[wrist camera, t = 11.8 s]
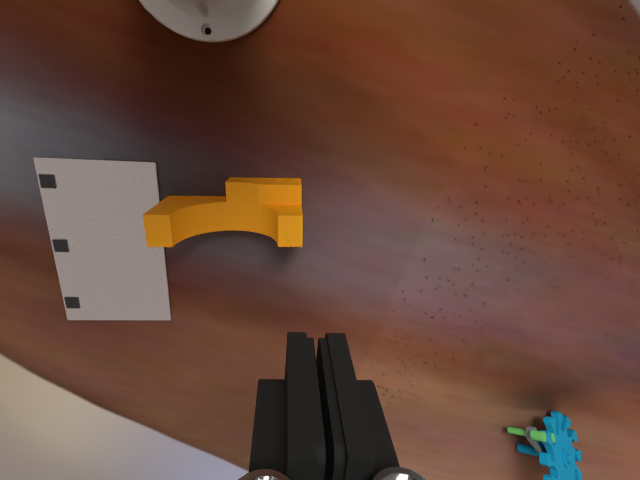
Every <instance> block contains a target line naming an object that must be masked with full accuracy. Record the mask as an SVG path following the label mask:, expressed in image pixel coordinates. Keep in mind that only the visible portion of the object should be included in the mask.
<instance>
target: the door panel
mask: <svg viewBox="0 0 640 480" xmlns="http://www.w3.org/2000/svg"><path fill="white" fill-rule="evenodd" d="M33 159H34V164H35V169H36V174H37V178H38V183H39V188H40V193H41V197H42V202H43V207H44V211H45V216H46V221H47V226H48V230H49V235H50V240H51V244H52V249H53V254H54V259H55V263H56V268H57V273H58V277H59V282H60V287H61V292H62V296H63V301H64V306H65V310H66V315H67V320H172V318H171V308H170V298H169V288H168V278H167V268H166V258H165V247H147V243H146V236H145V229H144V222H143V214H144V213H146V212H147V211H148V210H150V209H151V208H152V207H154V206H155V205H157V204H158V203H159V202H160V197H159V187H158V176H157V166H156V162H139V161H115V160H91V159H67V158H43V157H33Z"/></svg>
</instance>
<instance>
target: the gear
mask: <svg viewBox="0 0 640 480" xmlns="http://www.w3.org/2000/svg"><path fill="white" fill-rule="evenodd" d="M544 424H545V427H546V430H547V431H544V430H541V431H537V429H536V428H535V427H530V426H527V428H526V430H525V429H519V428H514V427H508V433H511V434H516V435H521V436H526V438H527V440H528V441H529V442H530V443H531V445H532V446H530V445H525V444H520V443H518V446H517V448H518V451H519V452H522V453H526V454H530V455H535V456H539V461H540V464H541V465H544V466H548V467H549V468H550V475H548V474H544V476H543V477H544V480H582V472H581V471H580V470H579V469H578V467H577V465H576V462H575V461H579V462H581V451H580V450H577V449H574V448H573V446H572V441H575V442H577V435H576V431H575V430H570V429H567V428H569V427H570V426H571V422H570V420H569V418H568V416H563V415H562V414H561V413H560V412H556V411H551V417H548V416H546V417H544Z"/></svg>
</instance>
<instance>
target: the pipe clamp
mask: <svg viewBox="0 0 640 480" xmlns="http://www.w3.org/2000/svg"><path fill="white" fill-rule="evenodd" d="M225 186H226V196H167V197H166V198H165V199H163V200H162V201H161V202H159V203H158V204H157V205H155V206H154V207H152V208H151V209H150V210H148V211H147V212H146V213H144V214H143V222H144V229H145V236H146V243H147V247H173V246H174V245H176V244H177V243H178V242H180V241H182V240H184V239H186V238H189V237H192V236H195V235H199V234H203V233H209V232H215V231H230V230H236V231H250V232H256V233H260V234H264V235H267V236H269V237H271V238H273V239H274V240H275V241H276V242H277V244H278V247H302V240H303V213H302V206H301V202H302V184H301V178H244V177H229V178H228V180H227V181H226V182H225Z"/></svg>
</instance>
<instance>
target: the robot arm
mask: <svg viewBox="0 0 640 480" xmlns="http://www.w3.org/2000/svg"><path fill="white" fill-rule="evenodd" d="M278 1H279V0H139V2H140V3H141V4H142V5H143V7H144V8H145V9H146V10H147V11H148V12H149V13H150V14H151V15H152V16H153V17H154V18H155V19H156V20H158V21H159V22H160V23H162V24H163V25H164V26H166V27H167V28H169V29H171V30H172V31H174V32H176V33H178V34H179V35H182V36H184V37H187V38H190V39H193V40H196V41H202V42H209V43H218V42H227V41H231V40H235V39H238V38H241V37H243V36H245V35H247V34H248V33H250V32H252V31H253V30H255V29H256V28H257V27H259V26H260V25H261V24H262V23H263V22H264V21H265V20H266V19H267V18H268V16H269V15H270V14H271V12H272V11H273V10H274V8H275V7H276V5H277V3H278ZM206 28H210V29H211V31H212V32H211V34H210V35H207V34H206V33H205V29H206ZM238 480H426V479H425V478H423V477H422V476H421V475H420V474H418V473H416V472H414V471H413V470H411V469H407V468H403V467H400V466H399V463H398V459H397V456H396V453H395V450H394V446H393V443H392V440H391V437H390V433H389V430H388V427H387V424H386V420H385V417H384V414H383V411H382V407H381V404H380V401H379V398H378V395H377V391H376V388H375V385H374V383H373V381H372V380H356V376H355V372H354V368H353V364H352V360H351V356H350V352H349V348H348V344H347V340H346V336H345V334H344V333H326V335H325V338H319V339H318V348H317V358H316V356H315V347H314V338H307V334H306V333H304V332H288V335H287V350H286V366H285V380H277V379H259V381H258V390H257V399H256V409H255V418H254V428H253V437H252V447H251V456H250V466H249V473H247V474H246V475H244V476H243V477H241V478H240V479H238Z"/></svg>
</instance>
